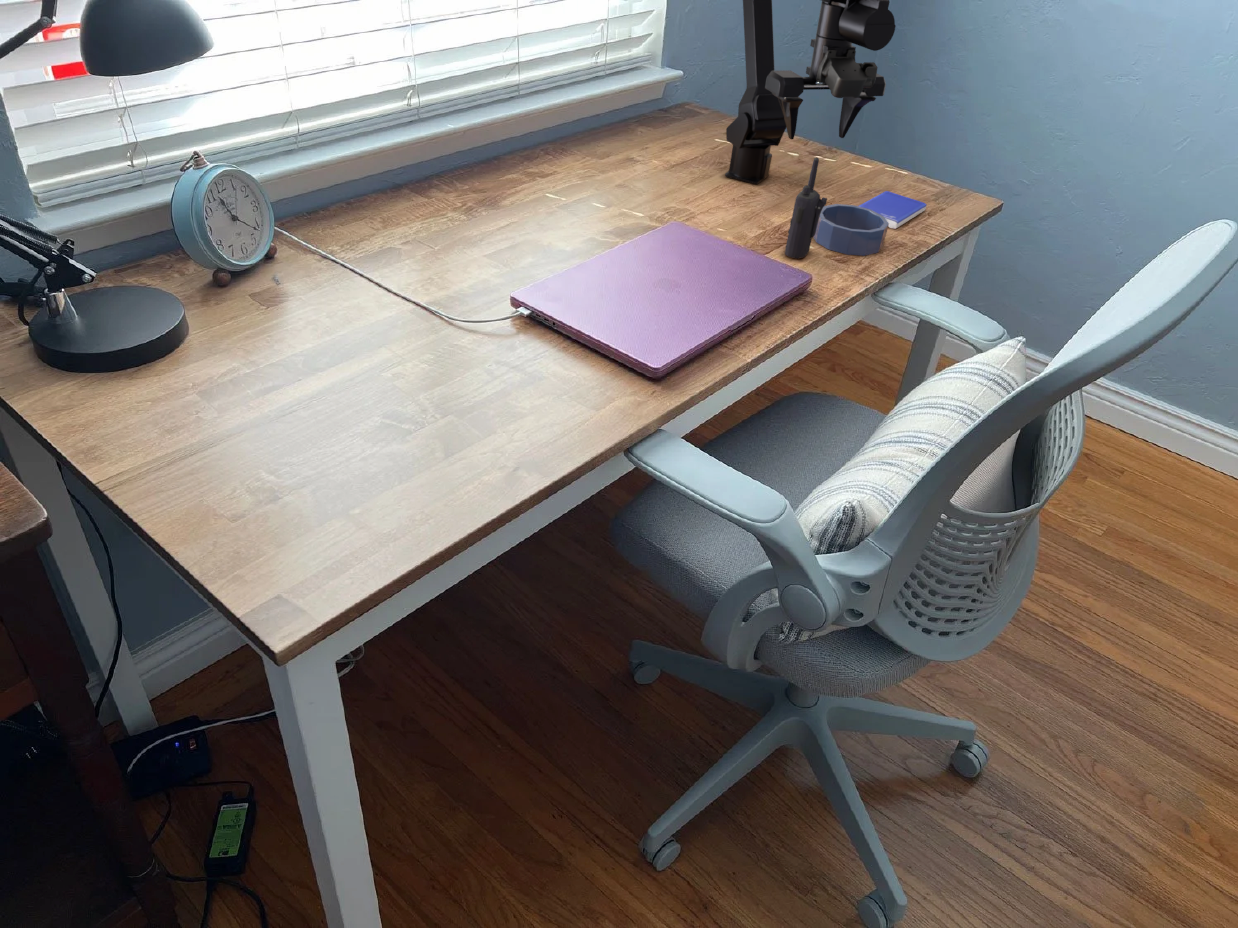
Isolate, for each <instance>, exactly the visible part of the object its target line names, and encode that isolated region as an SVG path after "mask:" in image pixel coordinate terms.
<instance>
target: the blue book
mask: <svg viewBox="0 0 1238 928" xmlns="http://www.w3.org/2000/svg"><path fill="white" fill-rule="evenodd" d="M858 206H859V207H863V208H867V209H871V210H873V211H875V212H876V213H878V214H880V215H882V216H884V217H885V219H886V220H887V222H888V223H889V226H888V229H894V230H895V229H896V230H897V229H898V228H899V227H901V226H902V225H904V224H906V223H907V222H909V221H910V220H912V219H914V218H915V217H917V216H918V215H920V214H921V213H923V212H925V211H926V209H927V207H928V205H927V203H925V202H923V201H920V200H917V199H914V198H911V197H907V196H905V195H901V194H898V193H895V192H892V191H889V190H885V191H883V192H881V193H880V194H878V195H876V196H874V197H872V198H871V199H868V200H867V201H864V202H863V203H861V204H859V205H858Z"/></svg>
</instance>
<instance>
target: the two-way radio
mask: <svg viewBox="0 0 1238 928" xmlns="http://www.w3.org/2000/svg"><path fill="white" fill-rule="evenodd" d="M819 162H820V159H819V158H818V157H816V156H815V157H814V158H813V160H812V164H811V169H810V173H809V177H808V180H807V181H808V182H807V184H806V185H805V184H804V186H803V187H802V190H801V191H799V192H798V193H797V194H796V197H795V200H794V206H793V210H792V214H791V215H792V216H791V218H790V222H789V223H790V224H789V229H788V231H787V234H788V235H787V239H786V244H785V249H784V255H785V256H786V257H788V258H791V259H795V260H799V259H803V258H805V257H806V256H807V255H808V254H809V252H810V249H811V245H812V239H813V238H814V235H815V233H816V229H817V224H818V220H819V217H820V213H821V211H822V209H823V207H824V206H827V202H828V198H827V197H821V194H820V193H819V192H818V191H817V190H815V189H814V188H815V183H816V180H817V179H816V178H817V174H818V173H817V172H818V168H819Z"/></svg>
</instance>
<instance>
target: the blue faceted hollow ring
mask: <svg viewBox="0 0 1238 928" xmlns="http://www.w3.org/2000/svg"><path fill="white" fill-rule="evenodd" d="M888 226H889V223H888V222H887V220H886V219H885V217H884V216H882V215H880V214H878V213H876V212H875V211H873V210H871V209H867V208H863V207H859V205H855V204H843V203H833V204H828V205H827V204H826V205H825V206H824V207H823V209H822V211H821V213H820V217H819V220H818V224H817V229H816V233H815V235H814V237H813V239H814V241H815V243H816V244H818V245H819V246H821V247H823V248H825V249H826V250H829V251H832V252H835V253H840V254H843V255H848V256H861V257H862V256H863V257H865V256H870V255H874V254H878V253H879V252H881V250H882V248H883V247H884V244H885V240H886V236H887V232H888V229H889V227H888Z"/></svg>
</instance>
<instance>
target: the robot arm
mask: <svg viewBox="0 0 1238 928" xmlns="http://www.w3.org/2000/svg"><path fill="white" fill-rule="evenodd" d="M820 1H821V3H820V9H819V15H818V21H817V27H816V31H815V32H816V33H815V38H811V39H810V44H809V45H810V47H811V48H813V50H812V57H811V62H810V66H806V67H805V68H806V69H805V74H806V75H808V76H801V75H799V74H798V73H797V72H795V71H792V70H776V69H775V46H774V44H775V43H774V19H773V18H774V13H773V0H742V11H743V12H742V14H743V32H744V33H743V34H744V35H743V36H744V55H745V59H744V60H745V77H746V78H745V80H746V88H745V91H744V93H743V95H742V98H741V99H740V101H739V103H738V106H737V107H738V111H737V113H738V114H737V117H736V118H735V119H734V120H733V121H732V122H731V123H730V124H729V125H728V126H727V127H726V129H725V133H726V134H725V135H726V142H727V143H729V144H731V145H732V147H731V149H732V150H731V155H730V161H729V168H728V171H726V172H725V173H724V177H725V178H729V179H733V180H737V181H741V182H745V183H748V184H753V185H759V184H760V183H761V182H762V181H765V179H766V178H768V177H769V175H770V170H771V169H770V168H771V164H772V158H773V154H772V153H771V148H772V146H775V147H778V146H779V145H780V143H781V140H782V138H783V136H784V134H785V132H787V136H788V137H787V138H788V139H790V140H794V139H795V135H796V131H797V123H798V116H799V108H800V107H801V105H802V103H803V102H804V99H803V98H802V97H800V96H801V95H802V94H803V93H804V90H806V91H808V90H809V91H810V90H813V91H815V90H817V91H818V90H830V94H831V96H833V97H834V98H836V99H842V102H841V109H840V118H839V125H838V137H839V138H840V139H844V138H845V137H846V135H847V134H848V132H849V130H850V128H851V126H852V124H853V123H854V121H855V120H856V118H857V115H858V114H859V113H860V111H861V110H862V108H863V107H864V106H866V105H868V104H869V103H870V102H875V101H876V99H877V97H883V96H885V93H886V92H885V91H886V87H887V84H886V79H885V77H884V76H883V75H881V74H879V73H878V68H879V66H877V64H876V62H875V61H872V62H871V61H870V62H869V61H867V62H857V61H856V54H857V51H856V48H857V47H856V46H859V47H861V48H865V49H867V50H870V51H873V52H876V51H881V50H882V49H885V47H886V46H888V44H889V43H890V42H891V40H892V39H893V36H894V34H895V31H896V20H895V16H894V14H893V12H892V11H891V10H890V9H889V7H890V0H820ZM854 45H856V46H854Z"/></svg>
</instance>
